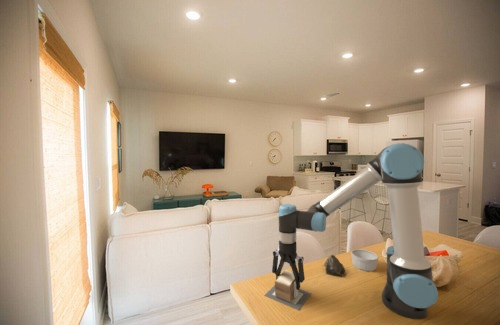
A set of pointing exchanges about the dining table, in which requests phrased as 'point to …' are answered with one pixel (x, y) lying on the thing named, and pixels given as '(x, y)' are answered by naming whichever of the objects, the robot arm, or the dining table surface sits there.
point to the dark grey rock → (334, 266)
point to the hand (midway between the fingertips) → (287, 292)
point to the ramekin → (364, 259)
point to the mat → (295, 303)
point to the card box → (285, 286)
